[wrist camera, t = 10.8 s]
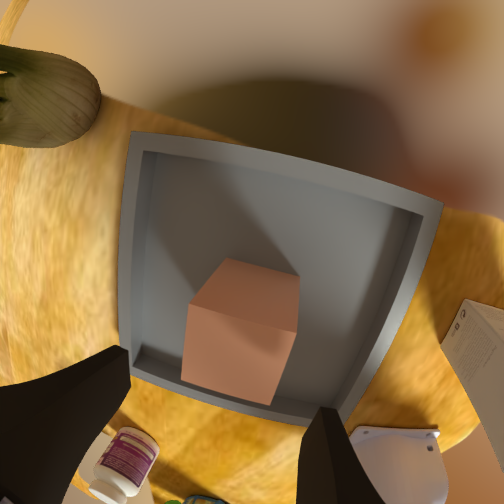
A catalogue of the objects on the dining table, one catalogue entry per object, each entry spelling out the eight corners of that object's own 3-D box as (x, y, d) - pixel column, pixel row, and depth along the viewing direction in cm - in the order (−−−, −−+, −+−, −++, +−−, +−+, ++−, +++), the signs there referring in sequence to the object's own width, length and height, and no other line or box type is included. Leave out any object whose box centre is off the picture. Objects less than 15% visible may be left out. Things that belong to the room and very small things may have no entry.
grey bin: (426, 197, 15) (444, 202, 12) (337, 408, 20) (339, 431, 18) (152, 133, 16) (131, 131, 14) (136, 353, 22) (121, 370, 19)
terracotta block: (300, 276, 17) (296, 333, 11) (281, 338, 18) (269, 405, 12) (226, 257, 17) (188, 303, 11) (214, 320, 18) (180, 379, 13)
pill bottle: (115, 418, 26) (74, 477, 17) (157, 434, 25) (120, 501, 16) (125, 443, 28) (91, 497, 19) (163, 458, 27) (133, 517, 18)
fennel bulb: (100, 62, 15) (-34, 26, 4) (124, 108, 16) (-35, 88, 5) (53, 112, 17) (-73, 112, 6) (72, 158, 18) (-68, 180, 7)
